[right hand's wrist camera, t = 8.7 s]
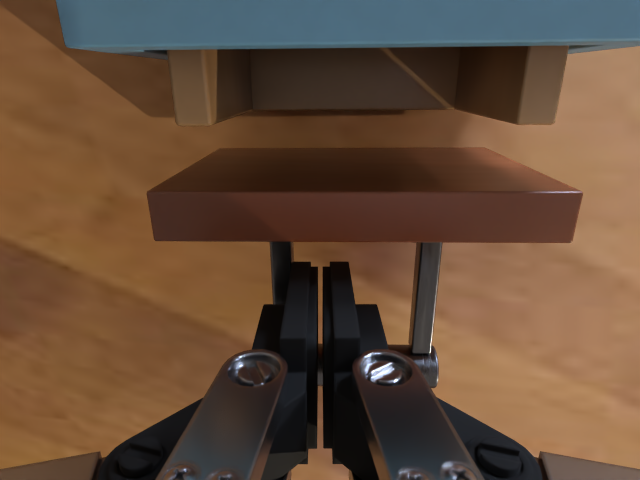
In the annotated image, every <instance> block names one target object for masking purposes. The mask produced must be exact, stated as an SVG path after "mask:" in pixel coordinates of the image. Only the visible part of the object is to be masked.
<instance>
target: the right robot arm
mask: <svg viewBox="0 0 640 480" xmlns="http://www.w3.org/2000/svg"><path fill="white" fill-rule="evenodd" d="M317 399H318V267H311V262H292V266H291V272H290V278H289V284H288V291H287V297H286V303H285V304H264V306H263V309H262V312H261V316H260V320H259V324H258V328H257V331H256V335H255V339H254V343H253V347H252V350H247V351H243V352H241V353H238V354H235V355H234V356H232V357H231V358H229V359H228V360H227V361H226V362H225V363H224V364H223V366H222V367H221V369H220V371H219V372H218V374H217V376H216V378H215V379H214V381H213V383H212V384H211V386H210V388H209V389H208V391H207V393H206V395H205V396H204V398H202V399H200V400H198V401H196V402H195V403H193V404H191V405H189V406H187V407H185V408H184V409H182V410H180V411H178V412H176V413H175V414H173V415H171V416H169V417H167V418H166V419H164V420H162V421H160V422H158V423H157V424H155V425H153V426H151V427H149V428H148V429H146V430H144V431H142V432H140V433H139V434H137V435H135V436H133V437H131V438H130V439H128V440H126V441H125V442H123V443H122V444H120V445H119V446H117V447H116V448H115V449H114V450H113V451H112V452H111V453H110V454H109V455H108V456H107V457H104V458H102V457H101V453H100V451H99V452H94V453H88V454H82V455H77V456H71V457H66V458H60V459H55V460H49V461H44V462H38V463H33V464H27V465H22V466H16V467H10V468H5V469H0V480H291V469H293V468H294V467H295V466H296V465H298V464H308V449H317ZM323 448H332V457H333V464H343V465H344V466H346V467H347V468H348V469H349V480H640V469H635V468H630V467H624V466H618V465H613V464H607V463H602V462H596V461H591V460H585V459H580V458H574V457H569V456H563V455H558V454H552V453H547V452H541V451H540V454H539V458H537V457H533V456H532V454H531V453H530V452H529V451H528V450H527V449H526V448H525V447H523V446H522V445H520V444H519V443H517V442H516V441H514V440H513V439H511V438H509V437H507V436H505V435H504V434H502V433H500V432H498V431H496V430H495V429H493V428H491V427H489V426H487V425H486V424H484V423H482V422H480V421H478V420H477V419H475V418H473V417H471V416H469V415H468V414H466V413H464V412H462V411H460V410H459V409H457V408H455V407H453V406H451V405H450V404H448V403H446V402H444V401H442V400H441V399H439V398H437V397H436V396H435V394H434V393H433V391H432V389H431V388H430V386H429V384H428V383H427V381H426V379H425V378H424V376H423V374H422V372H421V371H420V369H419V367H418V366H417V364H416V363H415V362H414V361H413V360H412V359H411V358H409V357H408V356H406V355H405V354H402V353H399V352H397V351H393V350H389V349H388V345H387V341H386V337H385V333H384V329H383V326H382V322H381V318H380V314H379V310H378V307H377V305H376V304H355V300H354V293H353V287H352V281H351V275H350V269H349V263H348V262H330V267H323Z"/></svg>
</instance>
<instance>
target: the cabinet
mask: <svg viewBox="0 0 640 480" xmlns="http://www.w3.org/2000/svg"><path fill="white" fill-rule="evenodd" d="M56 4H57V8H58V13H59V18H60V23H61V28H62V33H63V38H64V42H65V45H66V47H68V48H74V49H82V50H90V51H98V52H107V53H115V54H123V55H132V56H140V57H148V58H156V59H165V60H168V56H167V50H200V49H290V48H380V47H470V46H561V45H569V49H568V54H572V53H581V52H590V51H599V50H607V49H616V48H625V47H634V46H640V0H56Z"/></svg>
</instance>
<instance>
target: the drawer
mask: <svg viewBox="0 0 640 480" xmlns="http://www.w3.org/2000/svg"><path fill="white" fill-rule="evenodd" d="M568 49H569V45H561V46H470V47H380V48H290V49H200V50H167V56H168V64H169V72H170V80H171V88H172V96H173V104H174V112H175V119H176V123H177V125H179V126H210V125H213V124H216V123H218V122H221V121H224V120H227V119H229V118H232V117H235V116H238V115H240V114H243V113H246V112H249V111H276V110H442V109H456V110H460V111H464V112H468V113H472V114H476V115H480V116H484V117H488V118H492V119H497V120H501V121H505V122H509V123H513V124H517V125H551V124H554V122H555V118H556V113H557V108H558V102H559V97H560V92H561V86H562V81H563V75H564V70H565V65H566V59H567V54H568ZM582 196H583V192H582V191H579V190H577V189H575V188H573V187H571V186H568V185H566V184H564V183H562V182H560V181H557V180H555V179H553V178H551V177H548V176H546V175H544V174H542V173H540V172H537V171H535V170H533V169H531V168H529V167H526V166H524V165H522V164H520V163H517V162H515V161H513V160H511V159H509V158H506V157H504V156H502V155H500V154H498V153H495V152H493V151H491V150H489V149H486V148H220V149H218V150H216V151H215V152H213V153H211V154H210V155H208V156H206V157H205V158H203V159H201V160H199V161H198V162H196V163H194V164H193V165H191V166H189V167H188V168H186V169H184V170H183V171H181V172H179V173H178V174H176V175H174V176H173V177H171V178H169V179H168V180H166V181H164V182H162V183H161V184H159V185H157V186H156V187H154V188H152V189H151V190H149V191H147V198H148V204H149V211H150V217H151V223H152V229H153V236H154V240H155V241H258V242H270V257H271V275H272V293H273V304H285V303H286V297H287V291H288V284H289V278H290V272H291V266H292V262H294V251H293V242H417V243H416V256H415V268H414V281H413V293H412V306H411V318H410V330H409V345H388V349H389V350H393V351H397V352H399V353H402V354H405V355H406V356H408V357H409V358H411V359H412V360H413V361H414V362H415V363H416V364H417V366H418V367H419V369H420V371H421V372H422V374H423V376H424V378H425V379H426V381H427V383H428V384H429V386H430V388H435V387H436V386H437V383H438V377H439V367H438V358H437V353H436V350H435V348H434V346H432V338H433V328H434V318H435V309H436V299H437V290H438V280H439V270H440V261H441V251H442V242H472V243H571V242H572V241H573V236H574V232H575V227H576V223H577V218H578V214H579V209H580V205H581V200H582ZM318 386H323V344H318Z"/></svg>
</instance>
